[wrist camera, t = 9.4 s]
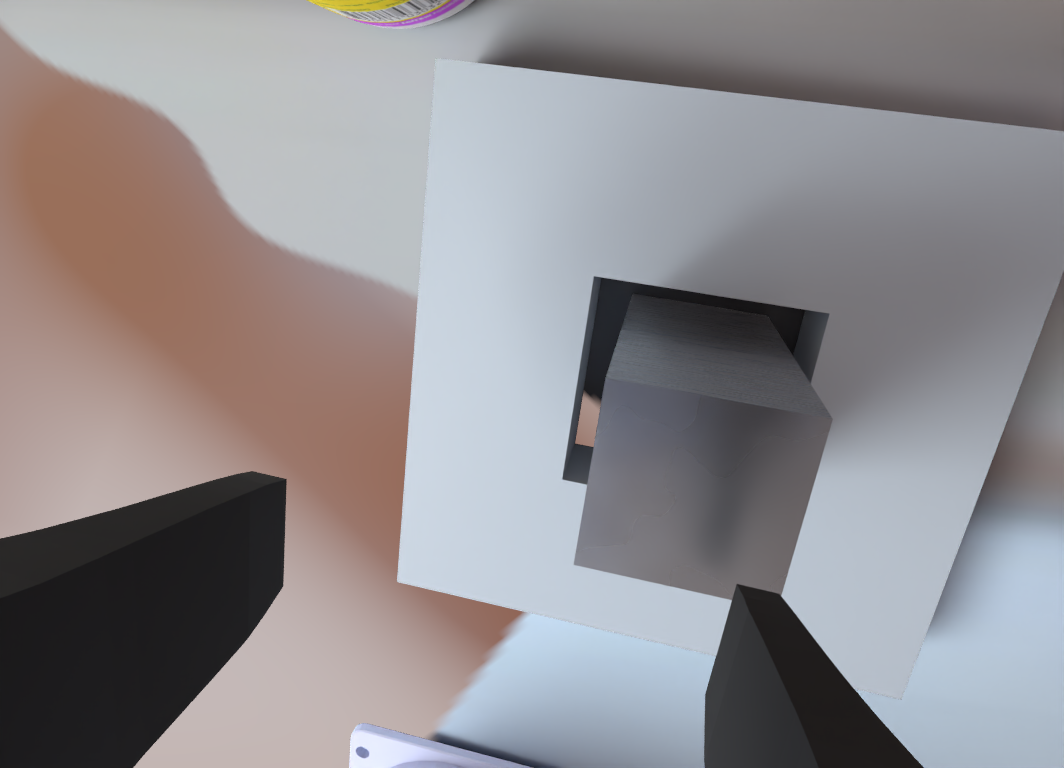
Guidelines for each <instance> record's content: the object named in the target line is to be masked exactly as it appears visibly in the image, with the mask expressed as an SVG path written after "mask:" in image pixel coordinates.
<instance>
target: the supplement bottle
mask: <svg viewBox="0 0 1064 768" xmlns="http://www.w3.org/2000/svg"><path fill="white" fill-rule="evenodd" d="M307 1H309V2H312V3H314V4H316V5H319V6H321V7H323V8H325V9H327V10H330V11H332V12H335V13H337V14H339V15H342V16H344V17H347V18H350V19H352V20H355V21H358V22H362V23H365V24H369V25H373V26H377V27H383V28H394V29H408V28H417V27H422V26H426V25H430V24H433V23H436V22H439V21H441V20H444V19H446V18H448V17H450V16H452V15H454V14H456V13H457V12H459V11H461V10H462V9H464V8H465V7H467V6H468V5H469V4H470V3H472V2H473V1H474V0H307Z"/></svg>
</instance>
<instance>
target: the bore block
mask: <svg viewBox="0 0 1064 768" xmlns="http://www.w3.org/2000/svg"><path fill="white" fill-rule="evenodd" d="M1063 272H1064V131H1058V130H1049V129H1041V128H1032V127H1024V126H1015V125H1006V124H998V123H989V122H981V121H972V120H963V119H955V118H946V117H938V116H929V115H921V114H912V113H903V112H895V111H886V110H878V109H869V108H861V107H852V106H843V105H835V104H826V103H818V102H809V101H800V100H792V99H783V98H775V97H766V96H758V95H749V94H740V93H732V92H723V91H715V90H706V89H698V88H689V87H680V86H672V85H663V84H655V83H646V82H637V81H629V80H620V79H612V78H603V77H595V76H586V75H577V74H569V73H560V72H552V71H543V70H535V69H526V68H517V67H509V66H500V65H492V64H483V63H474V62H466V61H457V60H449V59H440V58H435V71H434V85H433V99H432V112H431V126H430V140H429V153H428V167H427V181H426V194H425V208H424V222H423V235H422V249H421V263H420V277H419V290H418V304H417V318H416V332H415V345H414V346H415V347H414V359H413V373H412V386H411V401H410V414H409V428H408V442H407V455H406V456H407V457H406V468H405V469H406V470H405V482H404V496H403V511H402V523H401V537H400V550H399V564H398V578H397V582H400V583H404V584H409V585H413V586H417V587H422V588H426V589H430V590H434V591H439V592H443V593H447V594H452V595H456V596H460V597H464V598H469V599H473V600H477V601H482V602H486V603H490V604H495V605H498V606H503V607H507V608H511V609H516V610H520V611H524V612H528V613H533V614H537V615H541V616H546V617H550V618H554V619H558V620H563V621H567V622H571V623H575V624H580V625H584V626H588V627H593V628H597V629H601V630H605V631H610V632H614V633H618V634H622V635H627V636H631V637H635V638H640V639H644V640H648V641H652V642H657V643H661V644H665V645H670V646H674V647H678V648H682V649H687V650H691V651H695V652H699V653H704V654H708V655H712V656H716V655H717V652H718V648H719V645H720V641H721V637H722V634H723V630H724V627H725V623H726V620H727V616H728V613H729V609H730V606H731V602H732V600H729V599H724V598H720V597H715V596H711V595H706V594H702V593H697V592H693V591H689V590H684V589H680V588H675V587H671V586H666V585H662V584H657V583H653V582H648V581H644V580H639V579H635V578H630V577H626V576H621V575H617V574H612V573H608V572H603V571H599V570H594V569H590V568H585V567H581V566H576V565H574V559H575V553H576V547H577V541H578V536H579V530H580V524H581V518H582V512H583V506H584V501H585V495H586V489H587V483H588V477H589V472H590V466H591V460H592V454H593V448H594V447H589V446H584V445H579V444H575V440H576V434H577V427H578V421H579V415H580V409H581V402H582V396H583V390H584V384H585V377H586V371H587V365H588V359H589V352H590V346H591V340H592V334H593V327H594V321H595V315H596V309H597V302H598V296H599V290H600V284H601V277H603V278H609V279H615V280H621V281H628V282H634V283H640V284H647V285H653V286H659V287H665V288H672V289H678V290H684V291H691V292H697V293H703V294H709V295H716V296H722V297H728V298H735V299H741V300H747V301H753V302H760V303H766V304H772V305H779V306H785V307H791V308H797V309H804V310H805V313H804V317H803V320H802V324H801V328H800V332H799V336H798V340H797V343H796V347H795V351H794V355H793V357H794V358H795V360H796V361H797V363H798V365H799V366H800V368H801V369H802V371H803V373H804V374H805V376H806V377H807V379H808V380H809V382H810V384H811V385H812V387H813V388H814V390H815V391H816V393H817V395H818V396H819V398H820V399H821V401H822V403H823V404H824V406H825V407H826V409H827V410H828V412H829V414H830V415H831V417H832V418H833V421H832V424H831V427H830V431H829V434H828V438H827V441H826V445H825V448H824V451H823V455H822V458H821V462H820V465H819V469H818V472H817V475H816V479H815V482H814V486H813V489H812V493H811V496H810V499H809V503H808V506H807V510H806V513H805V517H804V520H803V523H802V527H801V530H800V534H799V537H798V541H797V544H796V547H795V551H794V554H793V558H792V561H791V565H790V568H789V571H788V575H787V578H786V582H785V585H784V589H783V592H782V595H781V597H782V598H783V599H784V600H785V601H786V603H787V604H788V605H789V606H790V608H791V609H792V610H793V612H794V613H795V614H796V615H797V617H798V618H799V619H800V621H801V622H802V623H803V625H804V626H805V627H806V629H807V630H808V631H809V632H810V634H811V635H812V636H813V638H814V639H815V640H816V642H817V643H818V644H819V645H820V647H821V648H822V649H823V651H824V652H825V653H826V655H827V656H828V657H829V658H830V660H831V661H832V662H833V663H834V665H835V666H836V667H837V668H838V670H839V671H840V672H841V673H842V675H843V676H844V677H845V678H846V680H847V681H848V682H849V683H850V685H851V686H852V687H853V688H854V689H858V690H862V691H866V692H871V693H875V694H879V695H883V696H888V697H892V698H896V699H900V700H901V699H902V697H903V694H904V692H905V689H906V686H907V684H908V681H909V678H910V676H911V673H912V670H913V668H914V665H915V663H916V660H917V657H918V655H919V652H920V649H921V647H922V644H923V641H924V639H925V636H926V634H927V631H928V628H929V626H930V623H931V620H932V618H933V615H934V612H935V610H936V607H937V604H938V602H939V599H940V597H941V594H942V591H943V589H944V586H945V583H946V581H947V578H948V575H949V573H950V570H951V568H952V565H953V562H954V560H955V557H956V554H957V552H958V549H959V546H960V544H961V541H962V539H963V536H964V533H965V531H966V528H967V525H968V523H969V520H970V517H971V515H972V512H973V509H974V507H975V504H976V502H977V499H978V496H979V494H980V491H981V488H982V486H983V483H984V480H985V478H986V475H987V473H988V470H989V467H990V465H991V462H992V459H993V457H994V454H995V451H996V449H997V446H998V444H999V441H1000V438H1001V436H1002V433H1003V430H1004V428H1005V425H1006V422H1007V420H1008V417H1009V414H1010V412H1011V409H1012V407H1013V404H1014V401H1015V399H1016V396H1017V393H1018V391H1019V388H1020V385H1021V383H1022V380H1023V378H1024V375H1025V372H1026V370H1027V367H1028V364H1029V362H1030V359H1031V356H1032V354H1033V351H1034V349H1035V346H1036V343H1037V341H1038V338H1039V335H1040V333H1041V330H1042V327H1043V325H1044V322H1045V319H1046V317H1047V314H1048V312H1049V309H1050V306H1051V304H1052V301H1053V298H1054V296H1055V293H1056V290H1057V288H1058V285H1059V283H1060V280H1061V277H1062V275H1063Z"/></svg>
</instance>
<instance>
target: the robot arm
mask: <svg viewBox="0 0 1064 768" xmlns="http://www.w3.org/2000/svg"><path fill="white" fill-rule="evenodd" d="M285 508H286V479H283V478H279V477H275V476H270V475H266V474H261V473H257V472H253V471H251V472H246V473H240V474H236V475H232V476H228V477H224V478H220V479H216V480H213V481H209V482H206V483H202V484H199V485H196V486H192V487H189V488H186V489H182V490H179V491H176V492H173V493H169V494H166V495H162V496H159V497H156V498H152V499H149V500H146V501H142V502H139V503H136V504H132V505H129V506H126V507H122V508H119V509H115V510H112V511H108V512H104V513H100V514H97V515H93V516H89V517H85V518H82V519H78V520H74V521H71V522H67V523H63V524H59V525H56V526H53V527H48V528H44V529H41V530H36V531H32V532H28V533H24V534H20V535H15V536H10V537H6V538H1V539H0V768H133V767H134V766H135V765H136V763H137V762H138V761H139V760H140V759H141V758H142V756H143V755H144V754H145V753H146V752H147V751H148V750H149V749H150V747H151V746H152V745H153V744H154V743H155V742H156V741H157V739H159V737H160V736H161V735H162V734H163V733H164V732H165V731H166V730H167V729H168V728H169V726H170V725H171V724H172V723H173V722H174V721H175V720H176V719H177V718H178V716H179V715H180V714H181V713H182V712H183V711H184V710H185V709H186V708H187V706H188V705H189V704H190V703H191V702H192V701H193V700H194V699H195V698H196V696H197V695H198V694H199V693H200V692H201V691H202V690H203V689H204V687H205V686H206V685H207V684H208V683H209V682H210V681H211V680H212V679H213V677H214V676H215V675H216V674H217V673H218V672H219V671H220V670H221V668H222V667H223V666H224V665H225V664H226V663H227V662H228V661H229V659H230V658H231V657H232V656H233V655H234V654H235V653H236V652H237V650H238V649H239V648H240V647H241V646H242V645H243V643H244V642H245V641H246V640H247V638H248V637H249V636H250V635H251V633H252V632H253V630H254V629H255V627H256V626H257V625H258V623H259V622H260V620H261V619H262V618H263V616H264V615H265V613H266V612H267V610H268V609H269V607H270V606H271V604H272V602H273V601H274V599H275V598H276V596H277V595H278V593H279V592H280V590H281V589H282V587H283V574H284V543H285V541H284V540H285ZM350 746H351V747H350V764H349V768H532V767H528V766H525V765H521V764H517V763H513V762H510V761H506V760H502V759H498V758H495V757H491V756H487V755H484V754H480V753H476V752H472V751H469V750H465V749H461V748H457V747H454V746H450V745H446V744H442V743H439V742H435V741H431V740H427V739H424V738H420V737H416V736H412V735H408V734H405V733H401V732H397V731H393V730H390V729H386V728H382V727H379V726H374V725H371V724H365V723H362V724H359V725H357V726H356V727H355V729H354V731H353V733H352V735H351V744H350ZM363 747H364V748H363ZM365 748H366V749H365ZM704 762H705V768H924V767H923V766H922V765H921V764H920V763H919V762H918V761H917V760H916V759H915V758H914V757H913V756H912V754H911V753H910V752H909V751H908V750H907V749H906V748H905V747H904V746H903V745H902V743H901V742H900V741H899V740H898V739H897V738H896V737H895V736H894V735H893V733H892V732H891V731H890V730H889V729H888V728H887V727H886V726H885V725H884V724H883V722H882V721H881V720H880V719H879V718H878V717H877V715H876V714H875V713H874V712H873V711H872V710H871V708H870V707H869V706H868V705H867V704H866V703H865V701H864V700H863V699H862V698H861V697H860V695H859V694H858V693H857V692H856V691H855V689H854V688H853V687H852V686H851V685H850V683H849V682H848V681H847V680H846V678H845V677H844V676H843V675H842V673H841V672H840V671H839V670H838V668H837V667H836V666H835V665H834V663H833V662H832V661H831V660H830V658H829V657H828V656H827V655H826V653H825V652H824V651H823V649H822V648H821V647H820V645H819V644H818V643H817V642H816V640H815V639H814V638H813V636H812V635H811V634H810V632H809V631H808V630H807V629H806V627H805V626H804V625H803V623H802V622H801V621H800V619H799V618H798V617H797V615H796V614H795V613H794V612H793V610H792V609H791V608H790V606H789V605H788V604H787V603H786V601H785V600H784V599H783V598H782V597H781V595H780V594H779V593H774V592H770V591H766V590H761V589H757V588H753V587H748V586H744V585H740V584H736V588H735V591H734V595H733V599H732V602H731V606H730V609H729V613H728V616H727V620H726V623H725V627H724V630H723V634H722V637H721V641H720V645H719V648H718V652H717V655H716V659H715V662H714V666H713V669H712V673H711V676H710V680H709V684H708V687H707V691H706V694H705V746H704Z"/></svg>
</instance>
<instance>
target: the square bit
mask: <svg viewBox="0 0 1064 768" xmlns="http://www.w3.org/2000/svg"><path fill="white" fill-rule="evenodd" d="M832 421H833V418H832V417H831V415H830V414H829V412H828V410H827V409H826V407H825V406H824V404H823V403H822V401H821V399H820V398H819V396H818V395H817V393H816V391H815V390H814V388H813V387H812V385H811V384H810V382H809V380H808V379H807V377H806V376H805V374H804V373H803V371H802V369H801V368H800V366H799V365H798V363H797V361H796V360H795V358H794V357H793V355H792V354H791V352H790V350H789V349H788V347H787V346H786V344H785V342H784V341H783V339H782V338H781V336H780V335H779V333H778V331H777V330H776V328H775V327H774V325H773V323H772V322H771V320H770V319H769V317H768V316H767V315H762V314H756V313H749V312H743V311H737V310H731V309H725V308H719V307H713V306H707V305H700V304H694V303H688V302H682V301H676V300H670V299H664V298H657V297H651V296H645V295H639V294H632V297H631V300H630V303H629V307H628V310H627V313H626V316H625V319H624V322H623V325H622V328H621V331H620V335H619V338H618V341H617V344H616V347H615V350H614V353H613V356H612V359H611V363H610V366H609V369H608V372H607V375H606V378H605V384H604V390H603V396H602V402H601V407H600V413H599V419H598V426H597V431H596V437H595V443H594V448H593V454H592V460H591V466H590V472H589V477H588V483H587V489H586V495H585V501H584V506H583V512H582V518H581V524H580V530H579V536H578V541H577V547H576V553H575V559H574V565H576V566H581V567H585V568H590V569H594V570H599V571H603V572H608V573H612V574H617V575H621V576H626V577H630V578H635V579H639V580H644V581H648V582H653V583H657V584H662V585H666V586H671V587H675V588H680V589H684V590H689V591H693V592H697V593H702V594H706V595H711V596H715V597H720V598H724V599H729V600H732V599H733V595H734V591H735V588H736V584H740V585H744V586H748V587H753V588H757V589H761V590H766V591H770V592H774V593H779V594H780V595H782V592H783V589H784V585H785V582H786V578H787V575H788V571H789V568H790V565H791V561H792V558H793V554H794V551H795V547H796V544H797V541H798V537H799V534H800V530H801V527H802V523H803V520H804V517H805V513H806V510H807V506H808V503H809V499H810V496H811V493H812V489H813V486H814V482H815V479H816V475H817V472H818V469H819V465H820V462H821V458H822V455H823V451H824V448H825V445H826V441H827V438H828V434H829V431H830V427H831V424H832Z"/></svg>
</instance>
